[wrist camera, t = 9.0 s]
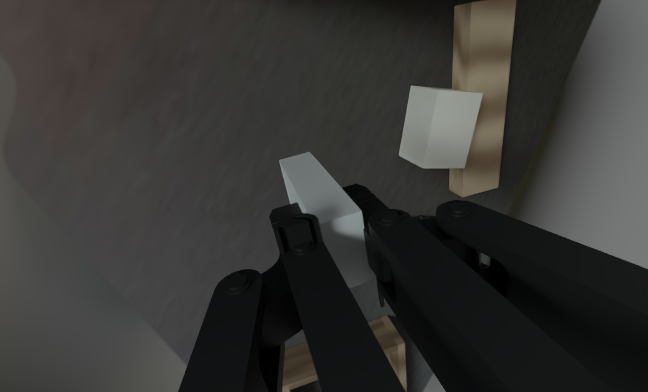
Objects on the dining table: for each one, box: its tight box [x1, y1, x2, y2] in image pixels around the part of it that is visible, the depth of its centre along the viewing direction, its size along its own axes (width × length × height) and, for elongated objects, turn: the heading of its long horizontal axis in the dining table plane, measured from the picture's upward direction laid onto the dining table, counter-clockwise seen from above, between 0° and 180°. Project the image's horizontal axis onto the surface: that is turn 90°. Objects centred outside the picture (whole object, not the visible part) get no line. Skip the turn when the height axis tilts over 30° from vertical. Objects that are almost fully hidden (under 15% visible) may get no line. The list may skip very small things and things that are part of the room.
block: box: [399, 86, 483, 168], centre depth 41 cm, size 9×6×6 cm, turn 175°
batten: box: [449, 0, 516, 197], centre depth 43 cm, size 24×6×3 cm, turn 8°
